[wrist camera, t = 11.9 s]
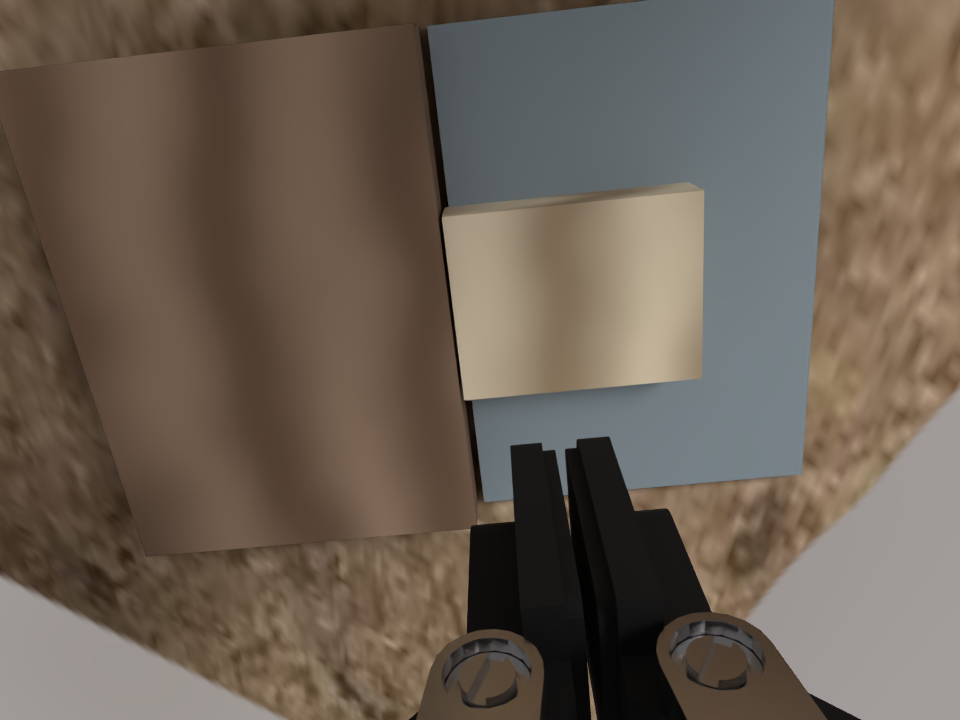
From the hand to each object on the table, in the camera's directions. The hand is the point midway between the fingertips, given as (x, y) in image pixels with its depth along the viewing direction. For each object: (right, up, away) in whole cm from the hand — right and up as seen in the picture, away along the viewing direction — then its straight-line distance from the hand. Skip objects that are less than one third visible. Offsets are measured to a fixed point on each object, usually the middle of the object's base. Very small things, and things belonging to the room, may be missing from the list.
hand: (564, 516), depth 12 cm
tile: (+2, +6, +16) cm, 17 cm away
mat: (+5, +6, +16) cm, 18 cm away
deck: (-10, +5, +17) cm, 20 cm away
